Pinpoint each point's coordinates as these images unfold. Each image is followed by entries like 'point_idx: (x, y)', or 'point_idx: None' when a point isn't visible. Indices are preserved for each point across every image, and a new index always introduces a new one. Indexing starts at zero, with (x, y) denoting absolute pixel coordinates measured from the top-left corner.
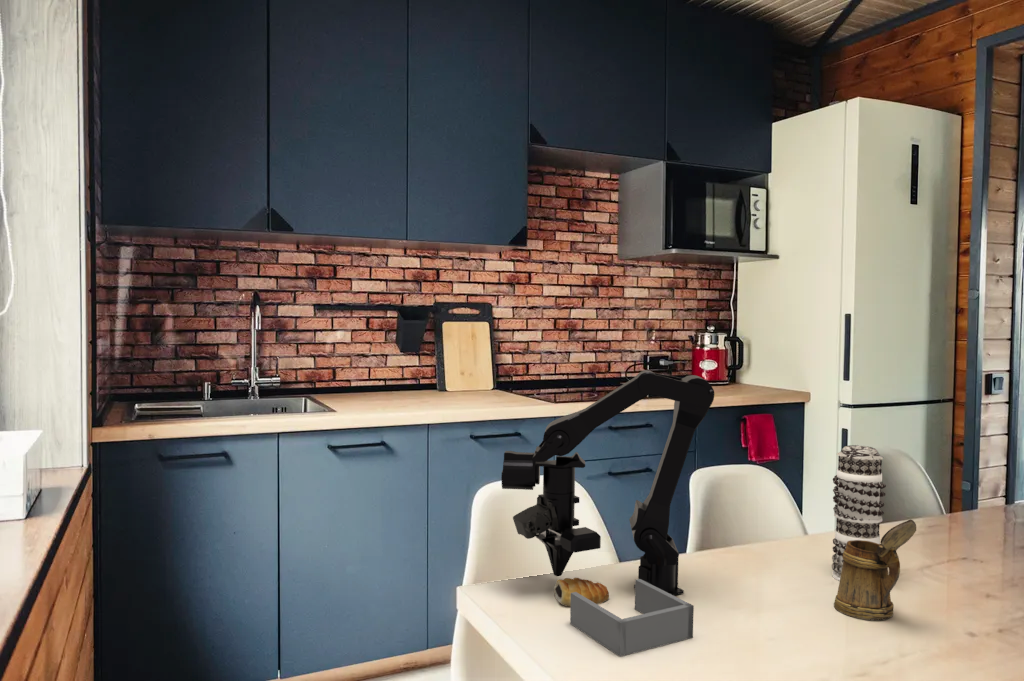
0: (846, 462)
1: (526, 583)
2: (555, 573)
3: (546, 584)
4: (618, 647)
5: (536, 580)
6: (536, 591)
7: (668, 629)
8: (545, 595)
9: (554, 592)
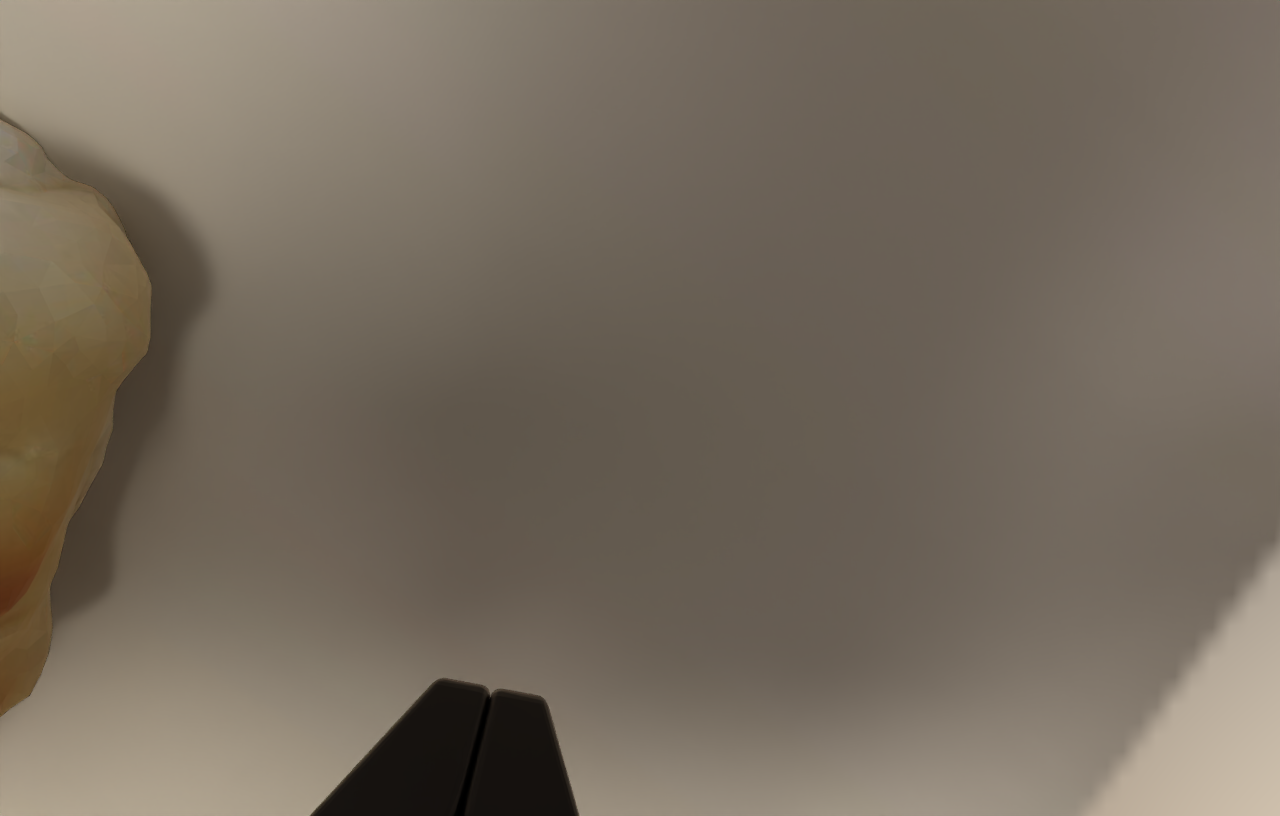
0: None
1: (1120, 215)
2: (442, 717)
3: (747, 488)
4: None
5: (1064, 491)
6: (562, 45)
7: None
8: (231, 39)
9: (64, 207)
